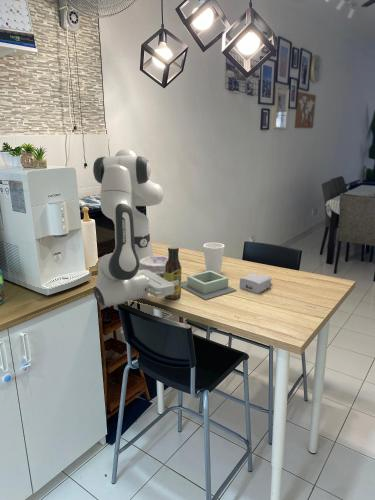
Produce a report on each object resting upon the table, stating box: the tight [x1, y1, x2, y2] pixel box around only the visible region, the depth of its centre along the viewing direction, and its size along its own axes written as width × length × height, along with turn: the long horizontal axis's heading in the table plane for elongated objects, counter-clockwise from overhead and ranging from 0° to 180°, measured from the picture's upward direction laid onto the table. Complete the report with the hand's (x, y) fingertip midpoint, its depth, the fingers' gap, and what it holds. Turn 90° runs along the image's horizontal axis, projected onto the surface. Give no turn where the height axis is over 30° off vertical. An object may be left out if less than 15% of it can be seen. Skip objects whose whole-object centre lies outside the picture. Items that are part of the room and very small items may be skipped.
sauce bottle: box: [165, 245, 182, 300], centre depth 147 cm, size 6×6×20 cm
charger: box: [239, 272, 273, 294], centre depth 160 cm, size 5×9×15 cm
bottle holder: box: [186, 270, 229, 294], centre depth 158 cm, size 11×12×4 cm
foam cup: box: [202, 242, 225, 275], centre depth 174 cm, size 10×9×13 cm
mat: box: [181, 280, 237, 301], centre depth 158 cm, size 20×16×1 cm
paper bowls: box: [139, 255, 169, 279], centre depth 169 cm, size 15×15×8 cm
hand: (170, 278), depth 147 cm, fingers open, 8 cm apart
